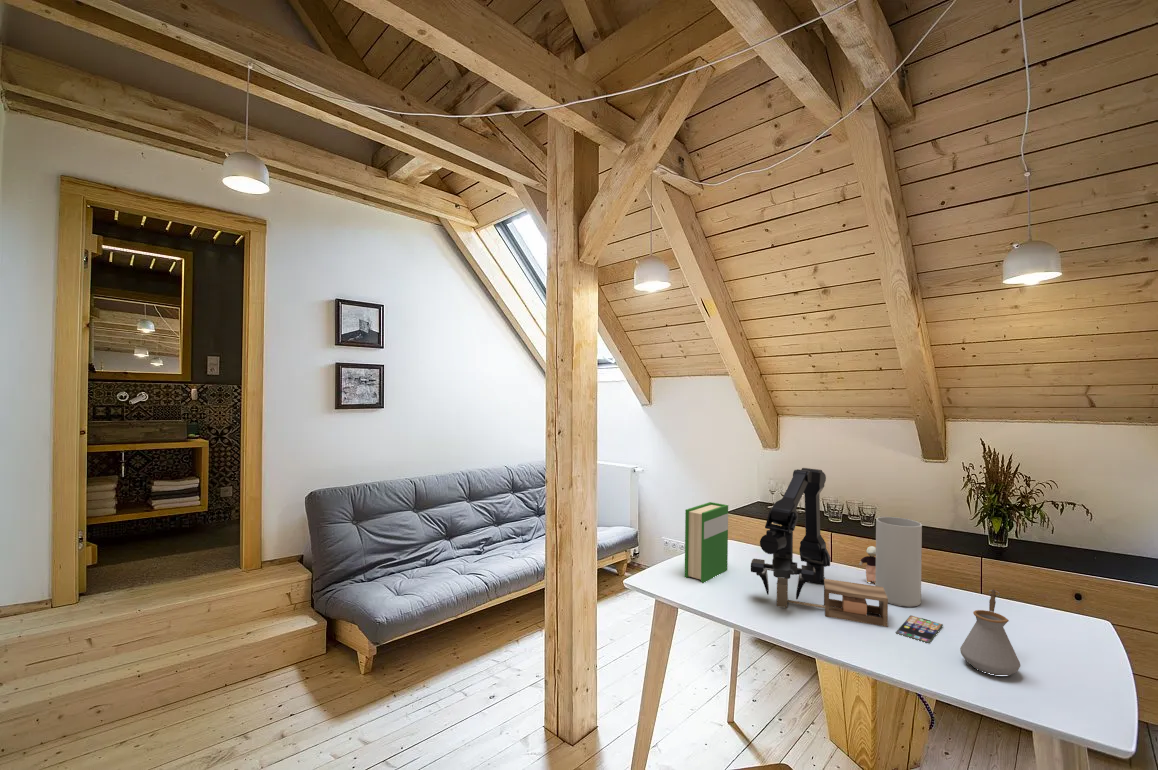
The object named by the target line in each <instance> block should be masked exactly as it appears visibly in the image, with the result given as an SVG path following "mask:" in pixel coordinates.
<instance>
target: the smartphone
mask: <svg viewBox="0 0 1158 770" xmlns="http://www.w3.org/2000/svg"><path fill="white" fill-rule="evenodd" d="M942 626H943V627H944V624H943V623H940V622H936V621H934V620H930V619H926V618H923V617H917V616H915V615H911V614H910V615H909V616H908V617H907V618H906V620H905V621H904V622H903V623H902V624H901V625H900V627H899V628H897V630H896V631H895V633H896V635H898V634H899V635H900V636H902V635H903V636H902V637H905V638H908V637H909V638H908V639H911V638H912V639H911V640H914V639H915V640H914V641H918V640H919V641H918V642H921V641H922V643H924V642H925V643H924V644H927V643H930V642H931V643H932V641H933V640H934V639H935V638H936V636H937V635H938V634H937V633H939V632H940V631H941V630H942V628H943V627H942ZM940 629H941V630H940ZM939 630H940V631H939ZM938 631H939V632H938ZM936 634H937V635H936ZM899 635H898V636H899ZM934 637H935V638H934ZM933 638H934V639H933ZM931 643H930V644H931Z"/></svg>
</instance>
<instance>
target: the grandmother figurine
mask: <svg viewBox="0 0 1158 770" xmlns="http://www.w3.org/2000/svg"><path fill="white" fill-rule="evenodd" d="M865 552H866V553H867V554H868V556H864V557H862V558H860V561H859V563H858V565H859V567H860V566H861V567H862V566H863V564H866V567H865V576H866V578H865V579H866V580H867V582H872V583H873V584H874V583H875V579H876V546H873V545H870V546H868V547H867V549H866V550H865ZM866 580H865V581H866Z"/></svg>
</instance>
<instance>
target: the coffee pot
mask: <svg viewBox="0 0 1158 770" xmlns="http://www.w3.org/2000/svg"><path fill="white" fill-rule="evenodd" d="M990 592H991V593H990ZM996 592H997V593H998V595H996V594H997V593H996ZM988 594H989V596H990V598H989V601H988V602H989V604H988V605H989V609H988V610H984V609H977V610H974V611H973V612H972V613H973V615H974V616H975V620H976V621H975V623H974V624H973V626H972V628H971V629H970V631H969V633H968V634H967V635H966V636H967V637H966V638H965V639H964V641H963V643H962V644H961V646H960V650H959V651H960V654H961V656H962V658H963V659H964V660H965V661H966V662H967V663H968V664H969V665H970V664H971V665H972V666H973V667H974V668H976V669H978V670H980V671H983V672H986V673H990V674H994V675H1009V676H1010V675H1013V674H1015V673H1017V672H1018V671H1019V670H1020V668H1021V663H1020V660H1019V657H1018V655H1017V653H1016V652H1015V649H1014V647H1013V645H1012V642H1011V640H1010V639H1009V637H1008V634H1007V632H1006V630H1005V628H1004V627H1005V626H1006V624H1007V623H1008V622H1010V620H1009V619H1008V618H1006V616H1004V615H1002V614H1000V613H997V612H995V608H996V602H997V601H996V598H997V597H999V596H1000V592H999V591H997V590H995V588H993V589H990V590H988ZM971 665H970V666H971ZM972 666H971V667H972ZM973 667H972V668H973ZM974 668H973V669H974ZM976 669H975V670H976ZM978 670H977V671H978ZM980 671H979V672H980Z"/></svg>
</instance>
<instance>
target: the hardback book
mask: <svg viewBox="0 0 1158 770" xmlns="http://www.w3.org/2000/svg"><path fill="white" fill-rule="evenodd" d="M684 514H685V519H684V523H685V526H684V527H685V528H684V530H685V531H684V578H685V577H686V578H685V579H689V578H690V577H691V578H693V579H697V580H700V583H701V582H702V584H705V583H706V581H707V582H708V581H710V580H712V579H714V578H716V577H718V576H719V574H720V575H721V574H723V573H725V572H727V571H728V566H729V565H728V563H729V562H728V554H729V553H728V551H729V550H728V549H729V545H728V544H729V504H722V503H718V502H712V501H711V502H710V501H709V502H706V503H703V504H699V505H696V506H693V507H689V508H687V509H685V513H684ZM717 575H718V576H717ZM715 576H716V577H715ZM713 577H714V578H713ZM704 582H705V583H704Z"/></svg>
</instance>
